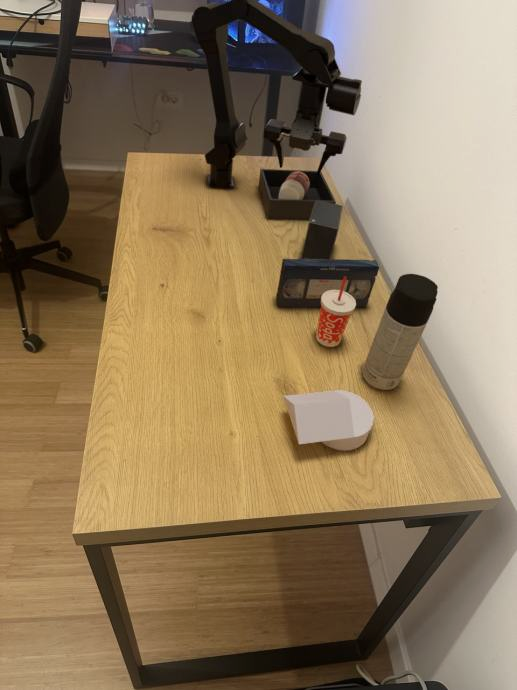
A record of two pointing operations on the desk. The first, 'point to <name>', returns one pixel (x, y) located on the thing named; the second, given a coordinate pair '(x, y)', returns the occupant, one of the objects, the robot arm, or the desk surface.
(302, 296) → the vhs cassette tape
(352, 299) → the beverage cup
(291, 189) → the pill bottle
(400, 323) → the spray can
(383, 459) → the desk surface
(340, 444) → the wedge on round base
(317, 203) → the small box
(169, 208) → the desk surface
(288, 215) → the bin
